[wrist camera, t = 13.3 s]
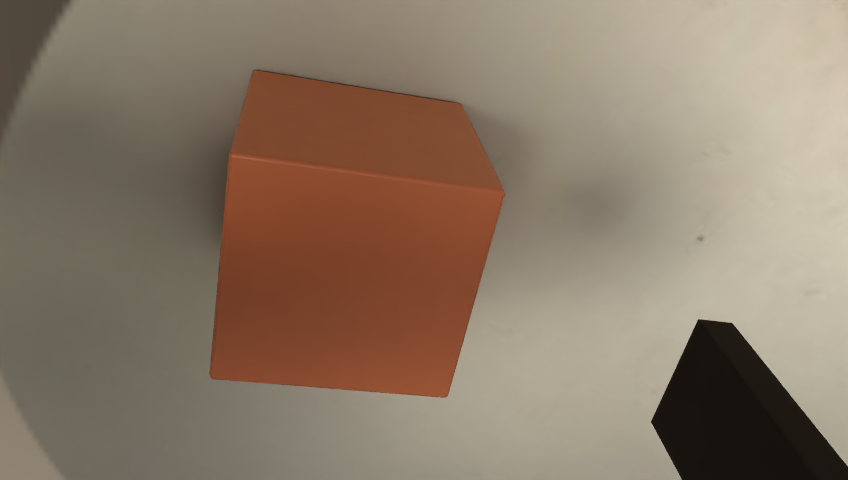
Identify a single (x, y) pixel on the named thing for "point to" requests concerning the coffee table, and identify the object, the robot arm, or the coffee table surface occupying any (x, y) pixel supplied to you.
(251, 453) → the coffee table surface
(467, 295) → the block
